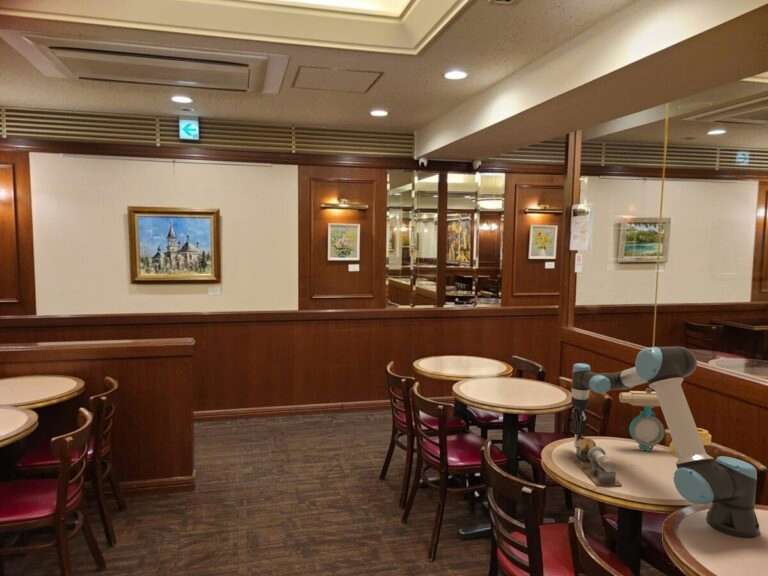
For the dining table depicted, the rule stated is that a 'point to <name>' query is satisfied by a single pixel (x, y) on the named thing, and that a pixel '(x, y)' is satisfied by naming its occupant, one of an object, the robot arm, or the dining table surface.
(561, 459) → the dining table surface
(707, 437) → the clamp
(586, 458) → the coupling
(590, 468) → the pipe jig
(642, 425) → the butterfly valve
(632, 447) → the dining table surface
